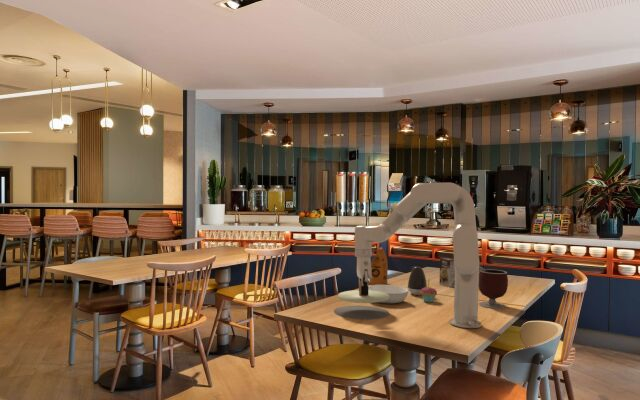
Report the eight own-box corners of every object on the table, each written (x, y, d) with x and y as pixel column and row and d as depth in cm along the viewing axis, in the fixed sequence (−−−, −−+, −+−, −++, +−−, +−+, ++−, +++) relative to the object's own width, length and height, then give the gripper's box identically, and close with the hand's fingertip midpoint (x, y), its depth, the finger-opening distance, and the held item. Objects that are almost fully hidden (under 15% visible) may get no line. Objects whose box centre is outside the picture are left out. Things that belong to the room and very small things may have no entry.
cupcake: (437, 303, 231) (437, 279, 231) (419, 302, 232) (420, 278, 232) (436, 299, 239) (436, 276, 239) (419, 298, 241) (420, 275, 241)
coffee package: (366, 285, 275) (367, 248, 275) (374, 281, 286) (375, 246, 286) (382, 287, 271) (383, 249, 270) (389, 283, 282) (390, 247, 281)
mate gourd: (505, 303, 234) (506, 264, 233) (509, 310, 220) (510, 268, 220) (473, 301, 238) (474, 262, 238) (474, 307, 224) (475, 266, 224)
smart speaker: (419, 291, 259) (420, 264, 259) (430, 295, 250) (431, 267, 249) (403, 292, 256) (404, 265, 256) (414, 296, 246) (414, 268, 246)
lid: (395, 301, 198) (395, 285, 198) (342, 303, 195) (342, 287, 195) (381, 291, 220) (381, 276, 220) (334, 293, 217) (334, 278, 217)
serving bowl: (375, 308, 219) (375, 293, 219) (360, 298, 239) (360, 285, 239) (415, 306, 225) (415, 292, 225) (397, 296, 245) (397, 283, 245)
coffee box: (438, 284, 283) (439, 258, 283) (447, 283, 286) (447, 257, 285) (448, 287, 275) (449, 260, 274) (457, 286, 277) (458, 259, 277)
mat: (396, 320, 197) (396, 319, 197) (338, 321, 194) (338, 319, 194) (381, 306, 222) (381, 305, 222) (329, 307, 218) (329, 305, 218)
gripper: (376, 255, 200) (376, 297, 200) (367, 250, 216) (367, 290, 216) (359, 255, 199) (359, 297, 199) (351, 251, 215) (351, 290, 215)
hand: (363, 293), depth 207 cm, fingers closed on lid, 4 cm apart
